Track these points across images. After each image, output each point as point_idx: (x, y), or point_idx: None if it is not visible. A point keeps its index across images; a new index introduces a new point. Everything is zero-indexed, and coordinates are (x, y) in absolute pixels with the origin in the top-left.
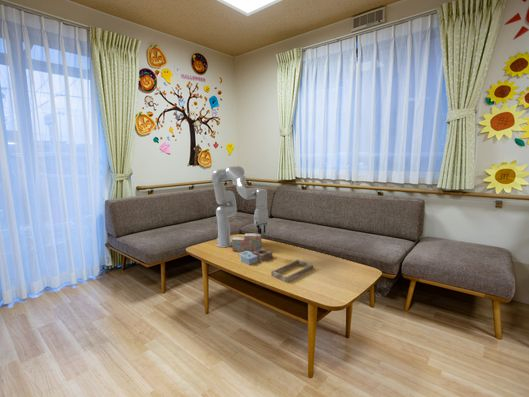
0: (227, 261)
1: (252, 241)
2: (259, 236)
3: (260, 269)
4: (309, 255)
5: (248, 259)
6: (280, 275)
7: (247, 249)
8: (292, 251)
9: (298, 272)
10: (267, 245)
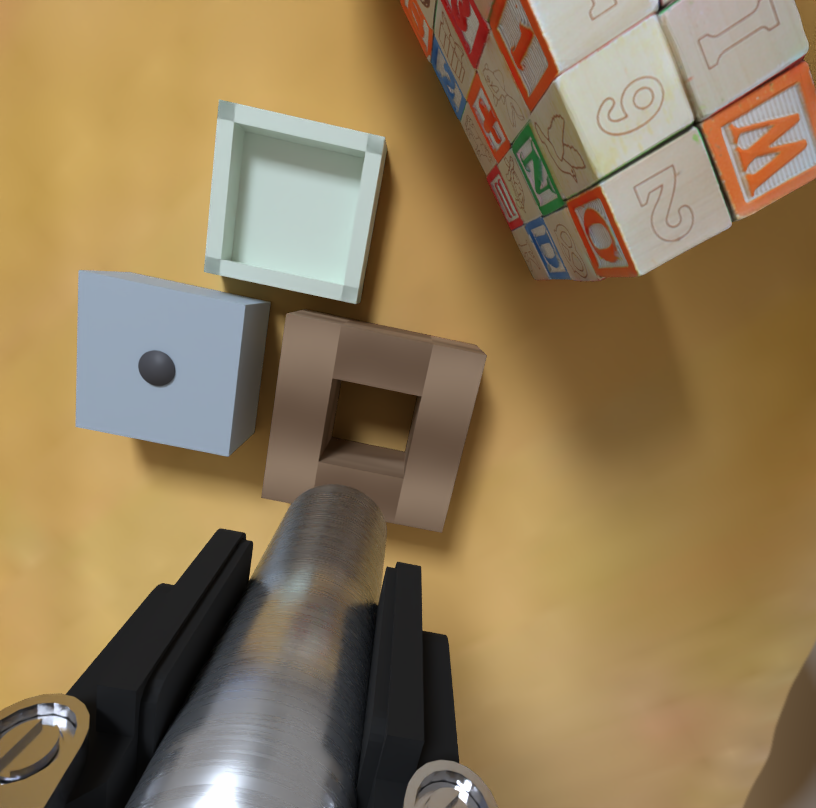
0: (16, 110)
1: (520, 131)
2: (286, 514)
3: (121, 555)
4: (664, 751)
5: (80, 417)
6: None
7: (456, 95)
8: (704, 590)
9: None
10: (801, 223)
